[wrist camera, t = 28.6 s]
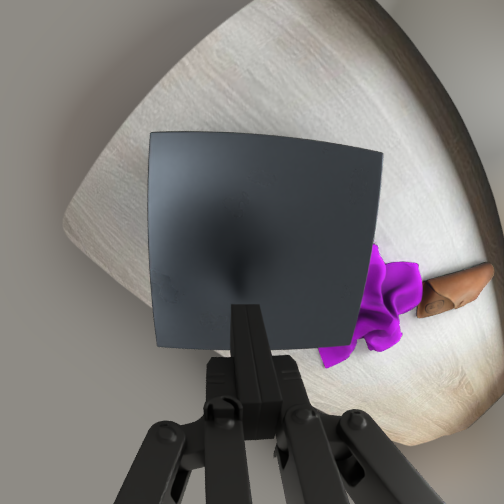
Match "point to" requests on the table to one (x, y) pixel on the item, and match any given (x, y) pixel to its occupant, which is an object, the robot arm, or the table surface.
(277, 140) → the lid
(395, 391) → the table surface
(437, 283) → the sunglasses case
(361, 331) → the cloth
